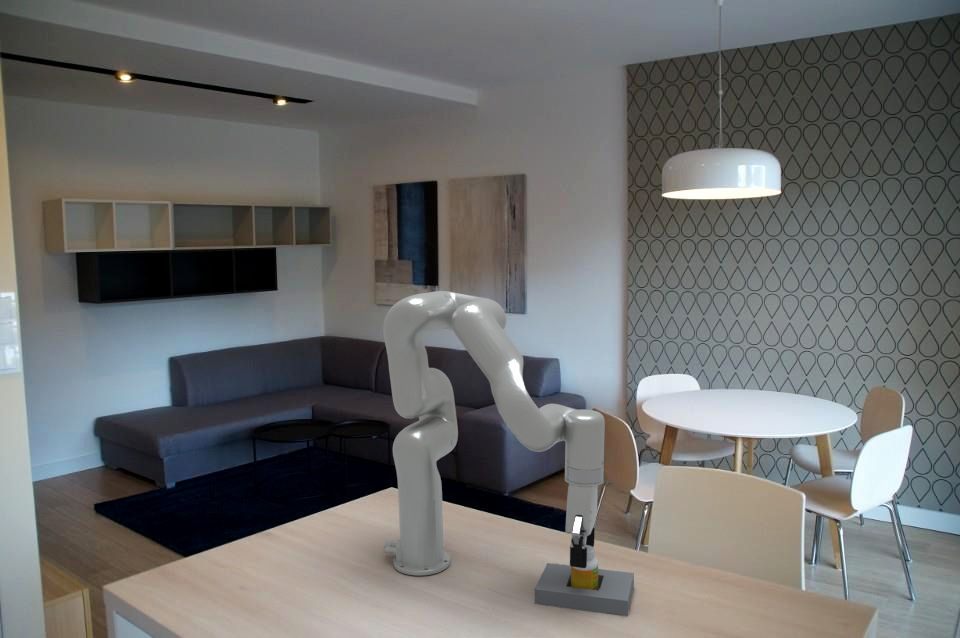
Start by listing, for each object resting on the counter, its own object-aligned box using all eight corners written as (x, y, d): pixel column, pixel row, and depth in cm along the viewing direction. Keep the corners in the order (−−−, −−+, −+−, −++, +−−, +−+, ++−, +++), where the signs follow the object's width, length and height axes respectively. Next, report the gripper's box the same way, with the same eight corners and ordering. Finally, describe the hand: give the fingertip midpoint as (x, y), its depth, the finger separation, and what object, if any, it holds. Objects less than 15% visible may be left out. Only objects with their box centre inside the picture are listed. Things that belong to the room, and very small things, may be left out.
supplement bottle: (597, 602, 146) (597, 555, 145) (569, 600, 147) (569, 553, 146) (598, 589, 151) (598, 543, 150) (572, 587, 152) (571, 542, 151)
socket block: (534, 603, 146) (534, 589, 146) (547, 576, 157) (547, 562, 157) (627, 615, 141) (627, 600, 140) (633, 586, 152) (633, 572, 152)
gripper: (572, 458, 155) (571, 536, 158) (556, 485, 139) (555, 572, 141) (609, 461, 153) (607, 541, 155) (596, 490, 137) (594, 578, 139)
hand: (582, 556), depth 148 cm, fingers open, 9 cm apart
